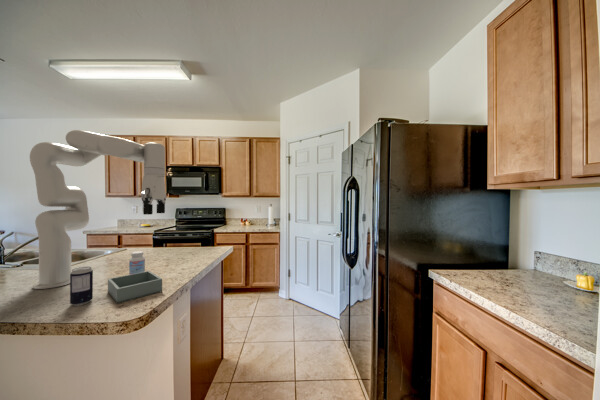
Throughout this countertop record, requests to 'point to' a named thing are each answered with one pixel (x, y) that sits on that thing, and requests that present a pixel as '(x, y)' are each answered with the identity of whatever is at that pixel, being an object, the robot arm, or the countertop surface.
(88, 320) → the countertop surface
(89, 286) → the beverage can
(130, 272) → the pill bottle
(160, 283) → the box
